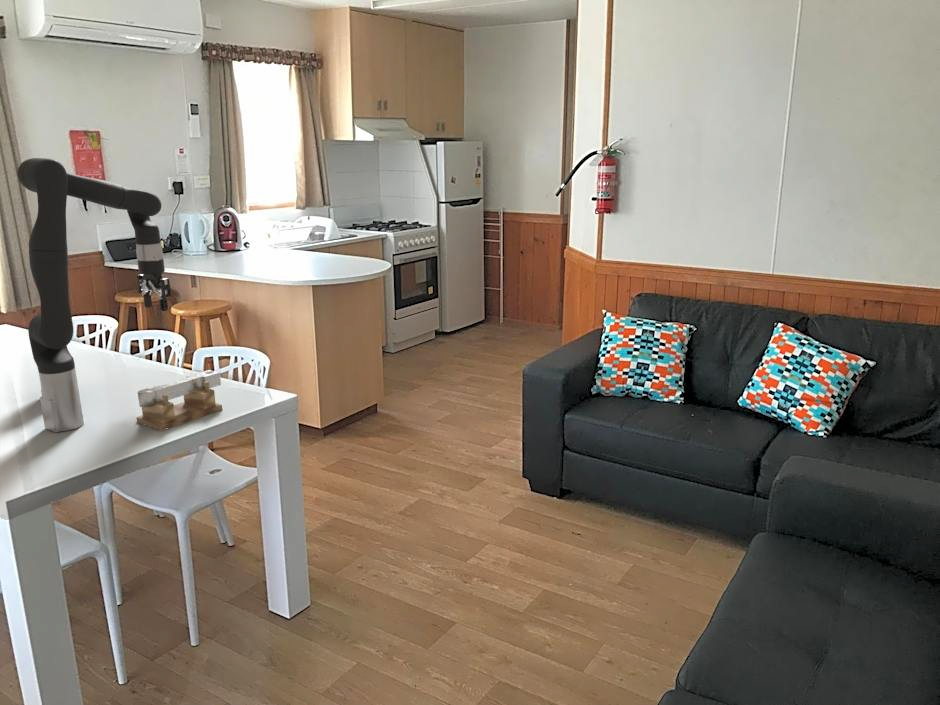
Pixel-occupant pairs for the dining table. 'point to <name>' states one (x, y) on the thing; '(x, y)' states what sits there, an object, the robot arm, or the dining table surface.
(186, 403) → the tool rest
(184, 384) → the long white beam
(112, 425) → the dining table surface
